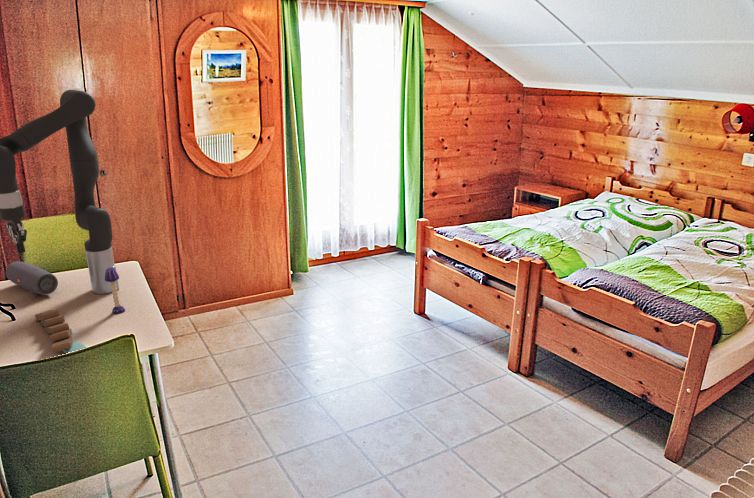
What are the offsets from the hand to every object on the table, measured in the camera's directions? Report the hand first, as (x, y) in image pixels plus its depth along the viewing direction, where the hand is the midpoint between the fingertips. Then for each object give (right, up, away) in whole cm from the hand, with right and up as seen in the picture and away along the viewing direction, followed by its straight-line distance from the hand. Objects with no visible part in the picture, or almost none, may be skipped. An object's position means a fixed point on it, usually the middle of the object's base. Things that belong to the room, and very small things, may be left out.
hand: (21, 252), depth 201 cm
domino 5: (+23, -28, -16) cm, 40 cm away
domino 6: (+26, -30, -16) cm, 42 cm away
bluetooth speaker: (-11, -15, +25) cm, 31 cm away
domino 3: (+14, -25, -5) cm, 29 cm away
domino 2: (+10, -24, -1) cm, 26 cm away
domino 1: (+6, -22, +3) cm, 23 cm away
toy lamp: (+29, -21, +9) cm, 37 cm away
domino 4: (+20, -27, -10) cm, 35 cm away
